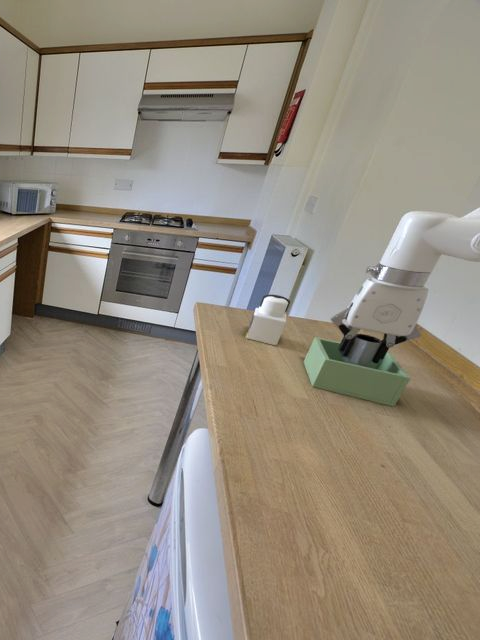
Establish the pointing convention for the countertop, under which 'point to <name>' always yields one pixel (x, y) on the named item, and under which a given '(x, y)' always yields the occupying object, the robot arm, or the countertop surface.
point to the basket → (354, 374)
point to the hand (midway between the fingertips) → (358, 356)
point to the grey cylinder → (362, 350)
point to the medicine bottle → (268, 320)
